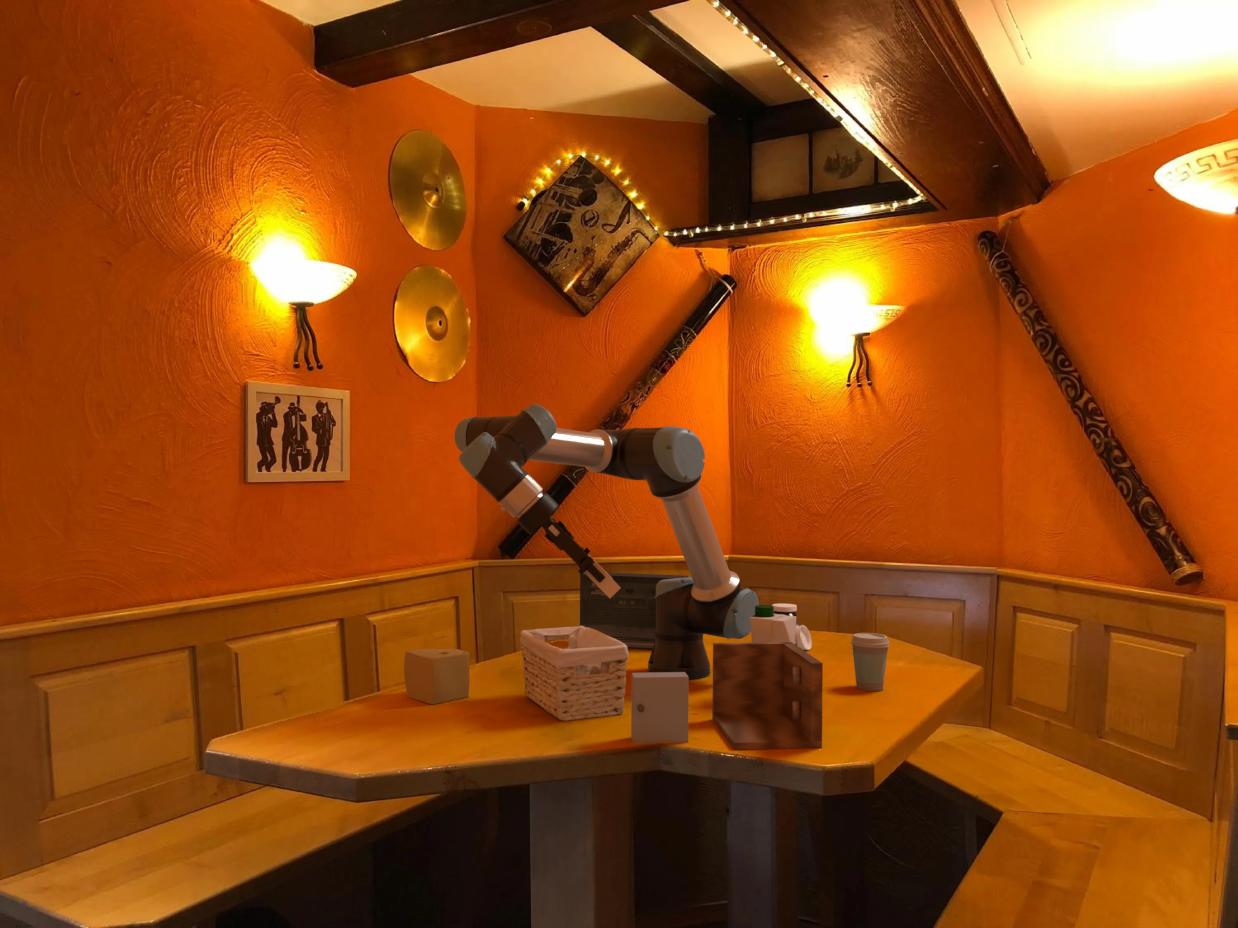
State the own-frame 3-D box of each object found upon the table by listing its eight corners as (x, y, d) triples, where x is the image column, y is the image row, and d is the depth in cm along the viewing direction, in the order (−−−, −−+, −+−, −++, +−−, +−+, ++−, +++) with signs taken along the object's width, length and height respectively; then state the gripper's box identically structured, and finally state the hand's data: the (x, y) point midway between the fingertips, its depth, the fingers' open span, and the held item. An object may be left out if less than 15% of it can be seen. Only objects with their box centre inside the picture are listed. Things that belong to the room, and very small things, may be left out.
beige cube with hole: (443, 689, 213) (443, 644, 213) (472, 698, 205) (472, 651, 205) (403, 697, 206) (403, 650, 206) (430, 706, 198) (431, 658, 198)
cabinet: (734, 749, 170) (735, 664, 170) (712, 719, 189) (713, 642, 189) (821, 747, 171) (822, 663, 171) (790, 717, 191) (791, 642, 191)
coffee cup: (890, 693, 212) (891, 639, 212) (851, 691, 214) (851, 638, 214) (887, 684, 220) (888, 633, 220) (849, 682, 222) (850, 631, 222)
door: (634, 744, 172) (634, 678, 172) (631, 737, 177) (631, 672, 177) (688, 743, 173) (689, 677, 173) (684, 736, 178) (685, 671, 178)
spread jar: (769, 643, 271) (770, 602, 271) (810, 644, 269) (810, 603, 269) (770, 651, 259) (770, 608, 259) (812, 652, 257) (813, 609, 257)
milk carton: (761, 692, 212) (762, 602, 212) (800, 698, 207) (801, 606, 207) (745, 700, 204) (745, 607, 204) (784, 706, 200) (785, 611, 199)
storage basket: (631, 716, 192) (632, 643, 192) (555, 725, 185) (556, 649, 185) (585, 690, 213) (586, 624, 213) (516, 697, 207) (517, 629, 207)
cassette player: (687, 647, 263) (688, 575, 263) (682, 652, 257) (683, 578, 257) (587, 641, 271) (587, 571, 271) (579, 646, 264) (580, 574, 264)
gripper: (515, 516, 185) (591, 593, 186) (515, 524, 160) (603, 613, 162) (542, 489, 185) (618, 566, 187) (547, 492, 161) (634, 581, 162)
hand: (611, 588), depth 174 cm, fingers open, 13 cm apart
